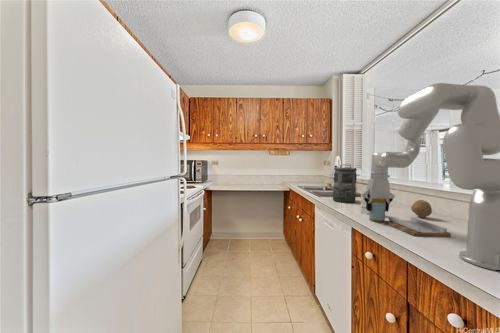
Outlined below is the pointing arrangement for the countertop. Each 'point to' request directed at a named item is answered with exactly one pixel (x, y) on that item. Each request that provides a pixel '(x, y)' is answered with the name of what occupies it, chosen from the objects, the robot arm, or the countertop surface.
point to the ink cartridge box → (363, 203)
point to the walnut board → (415, 233)
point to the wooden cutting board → (419, 225)
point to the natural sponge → (421, 208)
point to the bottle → (378, 208)
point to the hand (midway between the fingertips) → (377, 210)
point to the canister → (344, 184)
